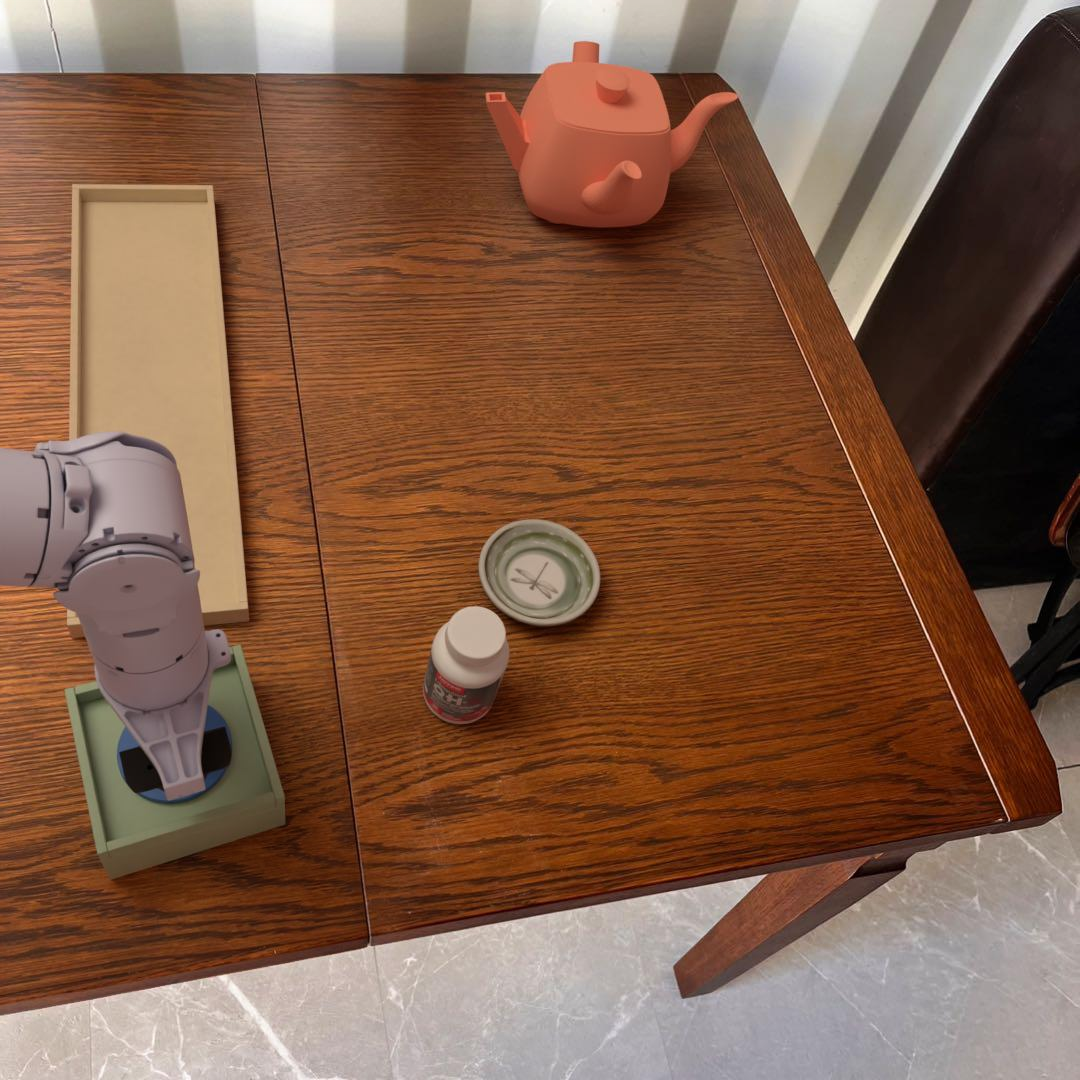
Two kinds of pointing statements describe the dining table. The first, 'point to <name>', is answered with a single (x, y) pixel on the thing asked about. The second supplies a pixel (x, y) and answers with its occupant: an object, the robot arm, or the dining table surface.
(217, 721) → the blue lid
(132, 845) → the green square tray
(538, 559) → the saucer
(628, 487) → the dining table surface
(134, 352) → the tray
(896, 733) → the dining table surface
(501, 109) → the teapot
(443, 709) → the pill bottle
